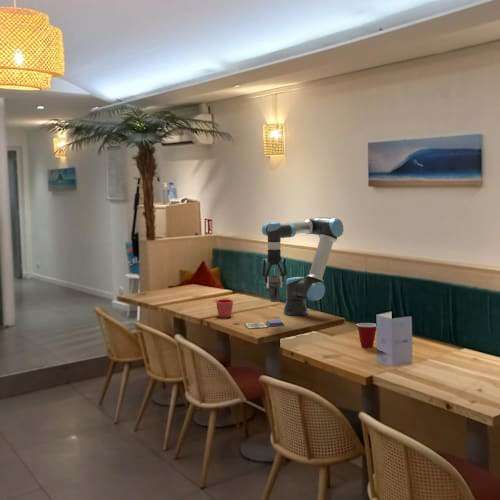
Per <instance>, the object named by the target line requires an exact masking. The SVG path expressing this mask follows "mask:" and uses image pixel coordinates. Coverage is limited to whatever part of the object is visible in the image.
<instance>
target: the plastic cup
mask: <svg viewBox="0 0 500 500" xmlns="http://www.w3.org/2000/svg"><path fill="white" fill-rule="evenodd" d="M376 324H377V323H374V322H373V323H372V322H360V323H356V327H357V331H358V336H359V341H360V347H361V348H363V349H372V348H373V347H374V342H375V338H376V337H375V336H376V333H377V332H376V331H377V328H376Z"/></svg>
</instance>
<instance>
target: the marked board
mask: <svg viewBox="0 0 500 500" xmlns="http://www.w3.org/2000/svg"><path fill="white" fill-rule="evenodd" d="M244 326H245V327H246V328H247V329H248V330H257V329H269V328H270V327H269V326H268V325H267V324H266V322H252V323H251V322H250V323H244Z"/></svg>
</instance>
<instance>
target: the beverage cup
mask: <svg viewBox="0 0 500 500" xmlns="http://www.w3.org/2000/svg"><path fill="white" fill-rule="evenodd" d="M275 268H276V267H273V274H272V275H270V276H269V288H268V290H269V299H270V302H271V303H276V302H279V297H280V276H278V275H277V274H276V273H275V272H276V269H275Z"/></svg>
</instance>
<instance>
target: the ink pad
mask: <svg viewBox="0 0 500 500" xmlns="http://www.w3.org/2000/svg"><path fill="white" fill-rule="evenodd" d="M265 324H266V325H267V326H268V327H269V328H271V327H272V328H273V327H274V328H275V327H284V326H285V323H284V322H283V321H282V320H281V319H270V320H269V319H268V320H267V321H265Z"/></svg>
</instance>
